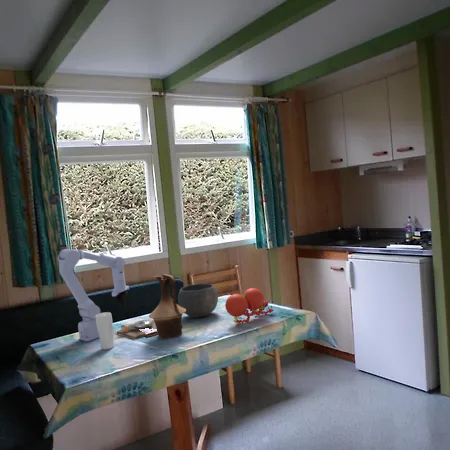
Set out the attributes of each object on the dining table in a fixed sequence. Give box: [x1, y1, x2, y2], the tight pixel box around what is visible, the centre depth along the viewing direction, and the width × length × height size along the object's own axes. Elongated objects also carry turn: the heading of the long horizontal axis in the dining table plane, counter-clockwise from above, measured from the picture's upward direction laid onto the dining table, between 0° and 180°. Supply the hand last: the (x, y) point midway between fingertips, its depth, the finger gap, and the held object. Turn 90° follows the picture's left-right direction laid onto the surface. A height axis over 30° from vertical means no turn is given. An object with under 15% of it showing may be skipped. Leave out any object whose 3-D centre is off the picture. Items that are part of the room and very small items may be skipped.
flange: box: [120, 319, 153, 331], centre depth 220 cm, size 15×9×2 cm, turn 107°
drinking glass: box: [95, 311, 115, 351], centre depth 200 cm, size 7×7×15 cm
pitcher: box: [148, 273, 186, 339], centre depth 207 cm, size 18×17×28 cm
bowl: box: [177, 283, 219, 318], centre depth 234 cm, size 20×20×15 cm
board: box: [116, 319, 157, 340], centre depth 221 cm, size 20×17×2 cm
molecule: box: [224, 287, 275, 324], centre depth 216 cm, size 25×11×15 cm, turn 133°
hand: (122, 306), depth 231 cm, fingers closed
